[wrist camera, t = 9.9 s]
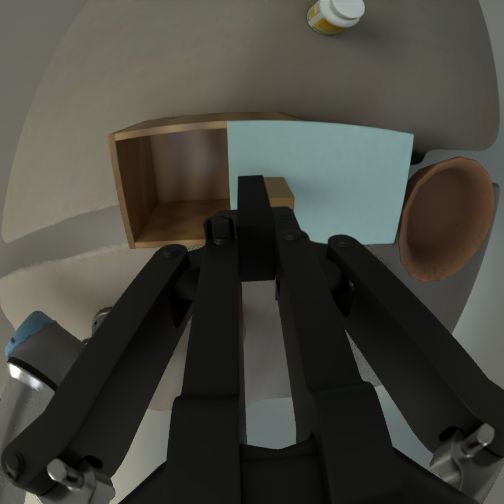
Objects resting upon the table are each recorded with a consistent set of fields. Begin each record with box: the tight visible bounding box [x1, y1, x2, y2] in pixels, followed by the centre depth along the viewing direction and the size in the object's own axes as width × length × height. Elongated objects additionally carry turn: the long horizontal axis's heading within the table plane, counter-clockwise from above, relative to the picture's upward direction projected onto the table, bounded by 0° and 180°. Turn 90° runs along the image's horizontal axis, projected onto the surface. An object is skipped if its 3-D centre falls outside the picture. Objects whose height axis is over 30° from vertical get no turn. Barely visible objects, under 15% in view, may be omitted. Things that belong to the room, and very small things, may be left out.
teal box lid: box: [227, 120, 414, 244], centre depth 25 cm, size 20×14×6 cm
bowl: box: [398, 157, 495, 283], centre depth 39 cm, size 22×22×11 cm
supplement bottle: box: [307, 0, 365, 35], centre depth 23 cm, size 5×5×10 cm
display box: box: [108, 112, 302, 249], centre depth 33 cm, size 20×14×13 cm
